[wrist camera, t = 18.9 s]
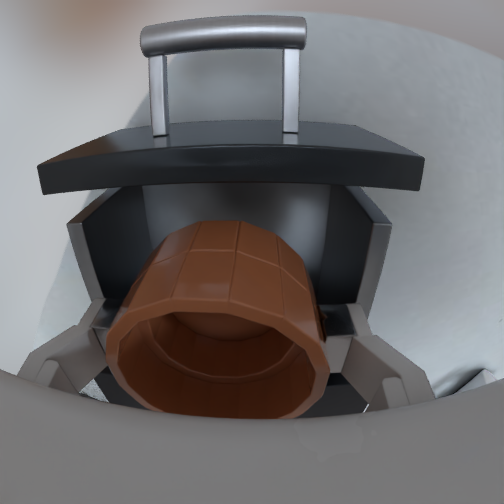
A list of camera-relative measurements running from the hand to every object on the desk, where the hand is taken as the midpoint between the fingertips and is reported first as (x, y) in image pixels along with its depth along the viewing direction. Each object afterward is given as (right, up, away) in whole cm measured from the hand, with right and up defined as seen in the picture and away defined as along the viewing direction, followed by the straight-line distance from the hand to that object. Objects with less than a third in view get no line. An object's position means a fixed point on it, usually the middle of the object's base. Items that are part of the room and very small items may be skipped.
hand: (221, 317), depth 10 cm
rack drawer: (0, +6, +7) cm, 9 cm away
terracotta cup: (0, +1, +1) cm, 2 cm away
